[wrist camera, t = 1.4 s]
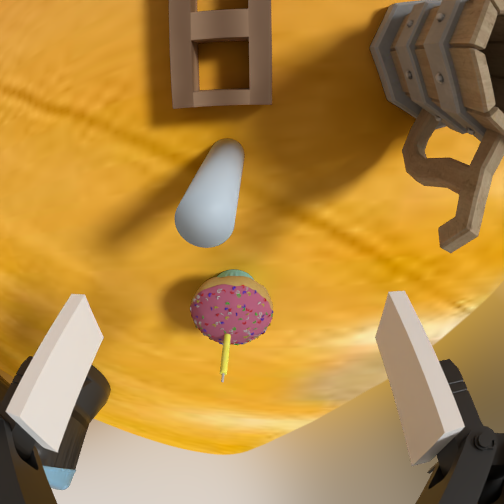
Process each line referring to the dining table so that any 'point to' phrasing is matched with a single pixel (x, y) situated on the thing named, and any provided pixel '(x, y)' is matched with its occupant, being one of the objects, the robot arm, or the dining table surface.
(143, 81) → the dining table surface
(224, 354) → the cupcake
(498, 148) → the tankard
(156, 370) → the dining table surface
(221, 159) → the dowel
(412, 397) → the robot arm
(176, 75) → the hole block
